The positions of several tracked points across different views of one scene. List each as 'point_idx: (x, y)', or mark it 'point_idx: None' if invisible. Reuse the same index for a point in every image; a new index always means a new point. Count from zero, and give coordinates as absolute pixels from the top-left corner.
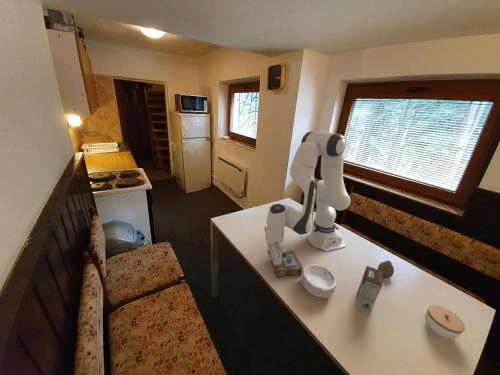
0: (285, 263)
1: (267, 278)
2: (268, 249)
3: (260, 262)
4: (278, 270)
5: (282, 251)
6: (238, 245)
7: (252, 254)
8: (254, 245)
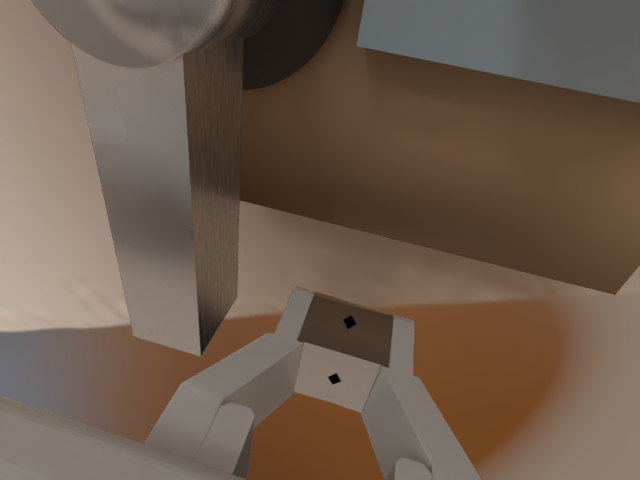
0: (625, 64)
1: (502, 291)
2: (135, 326)
3: (260, 253)
4: (626, 272)
5: (213, 5)
6: (46, 320)
7: None
8: (10, 201)
